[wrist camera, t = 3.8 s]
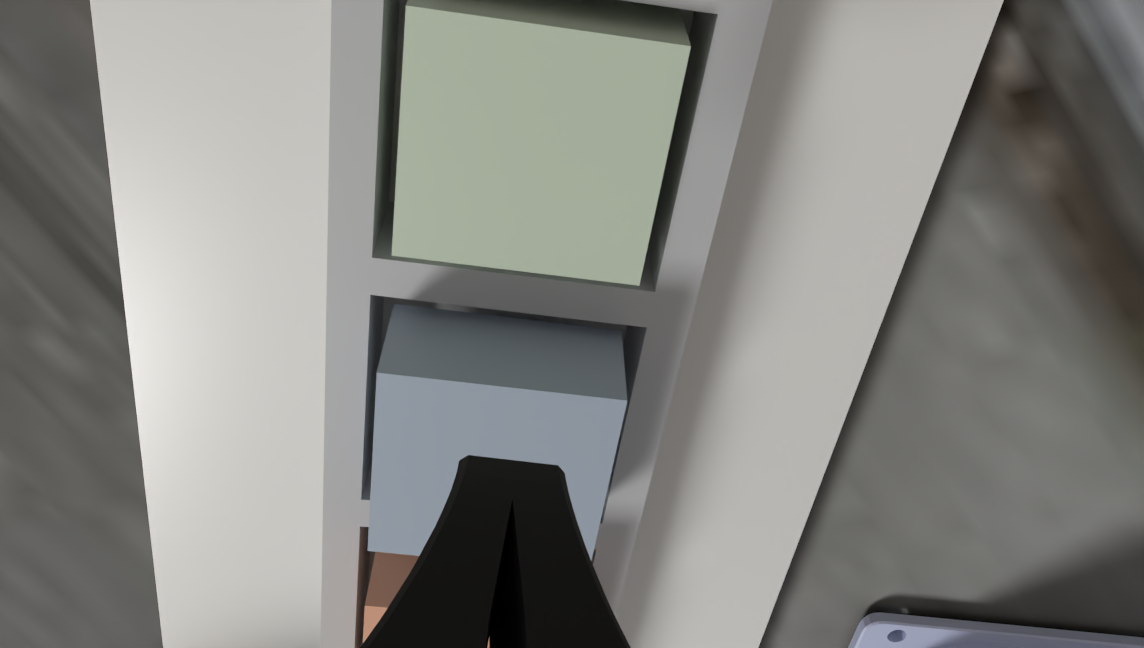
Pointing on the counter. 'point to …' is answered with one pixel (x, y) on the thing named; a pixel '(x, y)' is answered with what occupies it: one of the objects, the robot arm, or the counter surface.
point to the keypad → (504, 294)
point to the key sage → (536, 133)
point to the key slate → (489, 413)
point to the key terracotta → (385, 586)
